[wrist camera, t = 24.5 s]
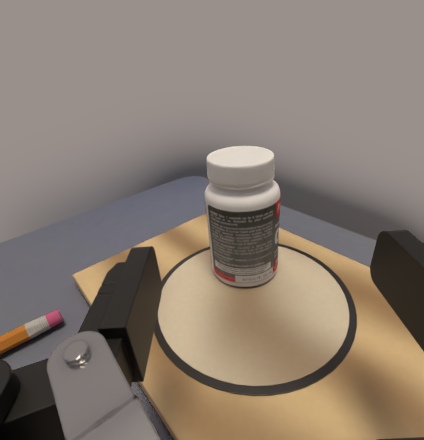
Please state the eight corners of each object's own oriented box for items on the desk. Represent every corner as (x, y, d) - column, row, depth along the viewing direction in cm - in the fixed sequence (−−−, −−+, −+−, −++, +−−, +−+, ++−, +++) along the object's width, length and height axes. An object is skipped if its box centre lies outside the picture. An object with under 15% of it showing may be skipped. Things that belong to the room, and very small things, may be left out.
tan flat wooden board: (226, 212, 31) (225, 202, 30) (497, 339, 16) (506, 324, 15) (76, 284, 22) (71, 273, 22) (349, 718, 7) (356, 717, 7)
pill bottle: (289, 279, 19) (298, 159, 15) (223, 297, 18) (214, 174, 14) (260, 242, 23) (261, 140, 19) (205, 255, 22) (193, 150, 18)
